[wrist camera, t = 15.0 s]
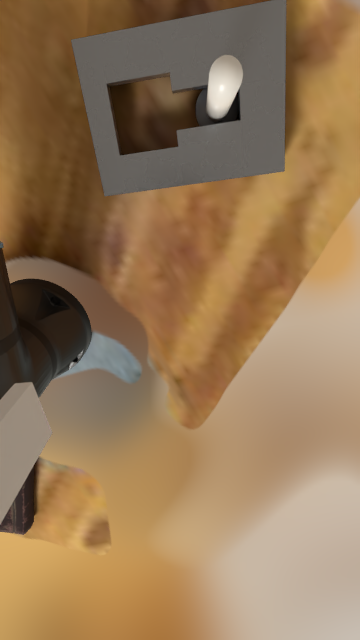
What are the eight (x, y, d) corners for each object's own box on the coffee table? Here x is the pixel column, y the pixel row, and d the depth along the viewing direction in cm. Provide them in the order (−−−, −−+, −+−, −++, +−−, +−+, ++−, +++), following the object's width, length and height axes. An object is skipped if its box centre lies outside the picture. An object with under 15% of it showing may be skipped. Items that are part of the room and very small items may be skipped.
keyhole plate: (113, 194, 39) (104, 196, 36) (84, 54, 33) (70, 39, 30) (276, 171, 37) (284, 171, 33) (276, 17, 31) (286, -3, 28)
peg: (198, 138, 36) (197, 119, 23) (193, 89, 34) (190, 41, 21) (238, 131, 36) (259, 109, 23) (236, 82, 34) (258, 28, 21)
